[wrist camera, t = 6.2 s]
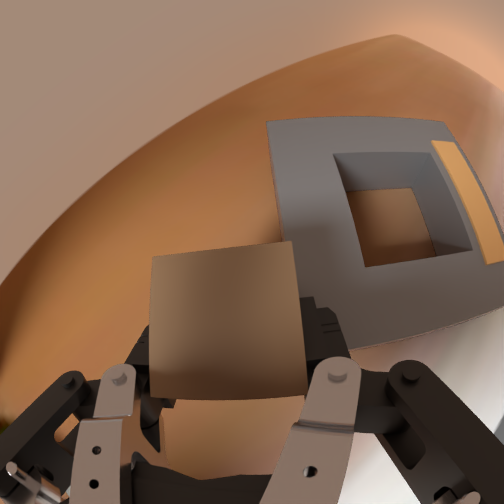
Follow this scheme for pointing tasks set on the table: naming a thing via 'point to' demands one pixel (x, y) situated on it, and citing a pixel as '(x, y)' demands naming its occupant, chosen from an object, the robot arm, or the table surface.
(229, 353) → the walnut peg
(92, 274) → the table surface
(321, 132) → the socket block
